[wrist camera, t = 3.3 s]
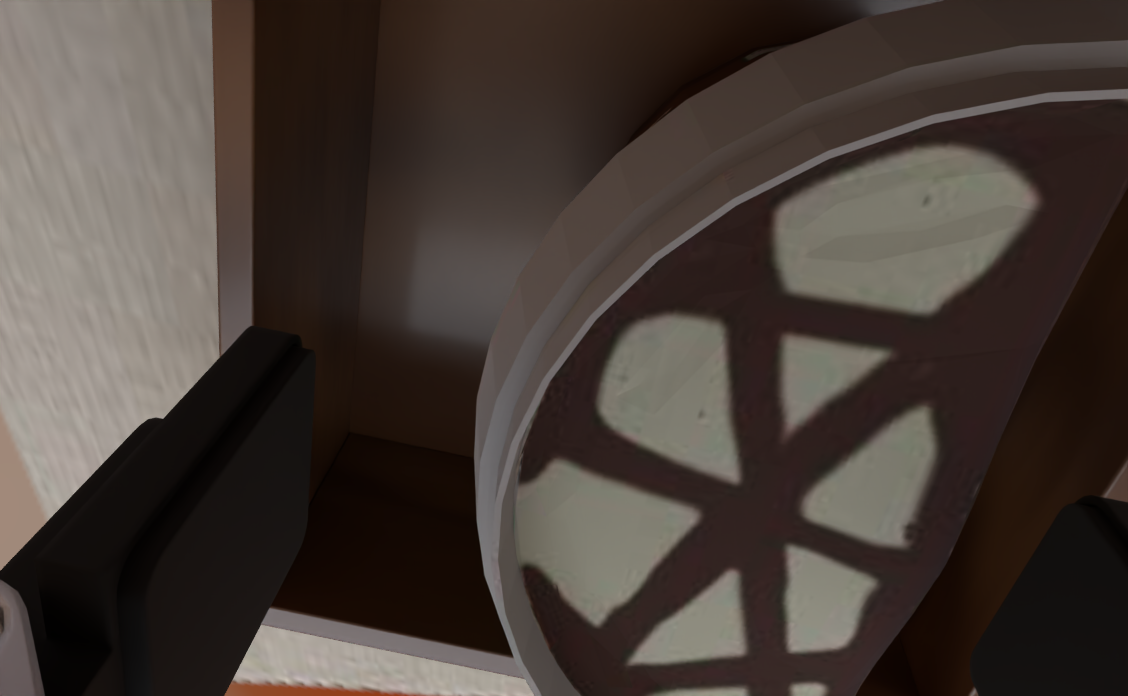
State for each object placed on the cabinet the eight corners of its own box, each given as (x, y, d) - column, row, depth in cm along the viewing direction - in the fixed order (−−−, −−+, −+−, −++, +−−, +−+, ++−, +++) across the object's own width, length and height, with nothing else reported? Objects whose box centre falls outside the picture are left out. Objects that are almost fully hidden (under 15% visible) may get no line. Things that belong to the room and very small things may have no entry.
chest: (874, 545, 22) (953, 768, 17) (334, 432, 22) (224, 617, 16) (1200, -95, 15) (1556, -93, 9) (377, -278, 15) (200, -395, 9)
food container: (597, -112, 15) (524, -132, 6) (924, -46, 15) (1314, 25, 6) (505, 430, 21) (403, 808, 12) (739, 476, 21) (804, 887, 12)
